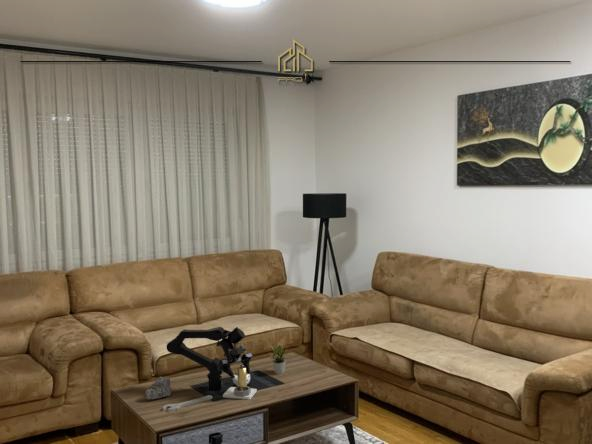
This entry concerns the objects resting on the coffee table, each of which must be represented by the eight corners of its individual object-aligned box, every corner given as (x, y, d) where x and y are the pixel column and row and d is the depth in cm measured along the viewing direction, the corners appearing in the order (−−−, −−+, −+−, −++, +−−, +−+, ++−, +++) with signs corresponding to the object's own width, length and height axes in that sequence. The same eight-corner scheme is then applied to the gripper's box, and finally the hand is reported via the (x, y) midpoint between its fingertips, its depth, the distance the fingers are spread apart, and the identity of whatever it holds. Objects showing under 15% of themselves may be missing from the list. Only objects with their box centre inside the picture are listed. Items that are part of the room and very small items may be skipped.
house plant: (264, 368, 324) (263, 340, 323) (288, 366, 326) (287, 338, 325) (267, 376, 310) (266, 347, 309) (292, 374, 312) (292, 345, 311)
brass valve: (236, 394, 282) (235, 366, 281) (239, 391, 286) (239, 363, 285) (244, 395, 280) (244, 366, 279) (248, 392, 285) (247, 364, 284)
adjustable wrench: (210, 397, 283) (210, 394, 283) (216, 402, 278) (216, 398, 277) (161, 409, 269) (161, 405, 269) (166, 413, 264) (166, 410, 264)
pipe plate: (222, 397, 282) (222, 390, 281) (230, 389, 293) (230, 382, 292) (249, 399, 278) (249, 392, 278) (256, 391, 289) (256, 384, 289)
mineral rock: (145, 402, 277) (145, 382, 276) (144, 394, 287) (143, 375, 286) (172, 399, 281) (172, 379, 280) (170, 391, 291) (170, 372, 290)
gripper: (219, 344, 279) (232, 372, 271) (250, 336, 291) (263, 363, 283) (210, 356, 285) (223, 383, 278) (241, 348, 297) (254, 374, 290)
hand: (241, 375), depth 282 cm, fingers open, 9 cm apart
